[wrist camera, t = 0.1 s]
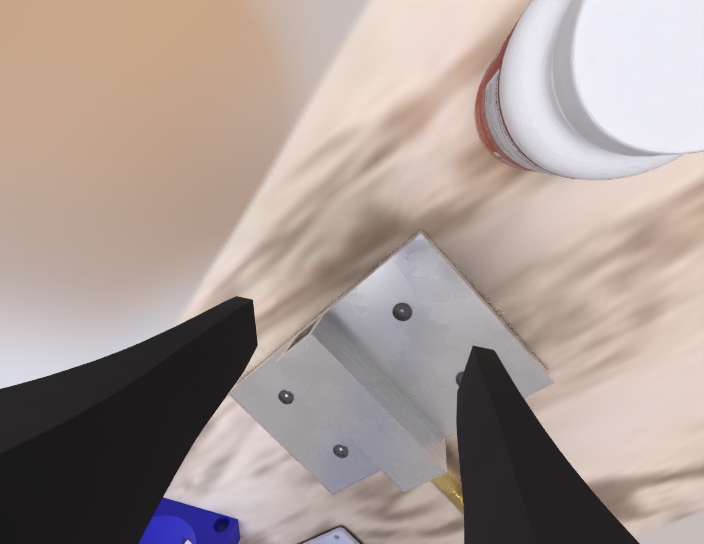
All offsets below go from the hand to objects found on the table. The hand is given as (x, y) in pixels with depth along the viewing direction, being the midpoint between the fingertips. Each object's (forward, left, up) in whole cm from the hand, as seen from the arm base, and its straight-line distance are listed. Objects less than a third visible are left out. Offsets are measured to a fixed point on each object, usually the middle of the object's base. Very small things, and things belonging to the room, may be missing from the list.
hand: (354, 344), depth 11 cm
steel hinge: (-7, -6, -11) cm, 14 cm away
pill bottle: (+11, +1, -11) cm, 15 cm away
